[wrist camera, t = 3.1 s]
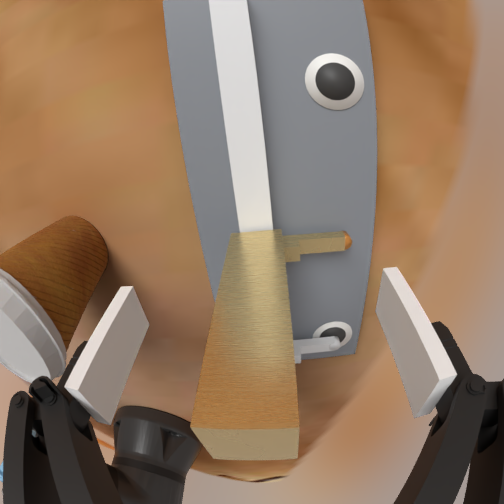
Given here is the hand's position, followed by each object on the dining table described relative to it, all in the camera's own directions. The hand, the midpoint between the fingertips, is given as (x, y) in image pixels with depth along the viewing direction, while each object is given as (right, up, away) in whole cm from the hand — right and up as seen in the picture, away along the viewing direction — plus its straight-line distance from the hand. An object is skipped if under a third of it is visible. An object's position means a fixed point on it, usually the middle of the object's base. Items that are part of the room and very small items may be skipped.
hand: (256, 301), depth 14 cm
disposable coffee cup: (-16, +3, +9) cm, 18 cm away
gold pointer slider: (+2, +3, +5) cm, 6 cm away
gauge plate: (+2, +6, +6) cm, 8 cm away
